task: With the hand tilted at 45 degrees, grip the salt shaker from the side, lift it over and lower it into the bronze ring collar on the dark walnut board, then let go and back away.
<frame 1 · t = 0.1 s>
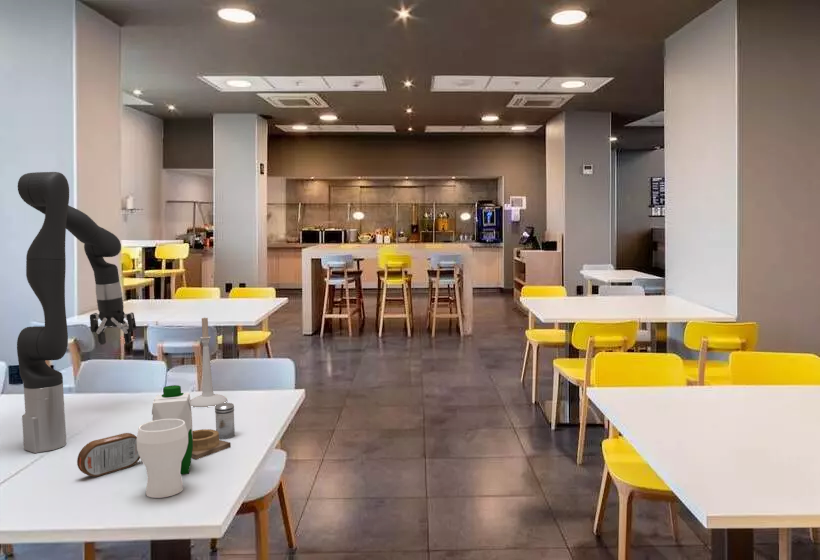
hand: (115, 343, 202), 22 cm above the table, tool pointing down, fingers open, 8 cm apart
candlestick: (208, 403, 211), on the table
cup: (165, 491, 136), on the table
milk carton: (174, 471, 148), on the table
salt shaker: (225, 436, 174), on the table
tin: (112, 472, 149), on the table
ring board: (200, 449, 163), on the table
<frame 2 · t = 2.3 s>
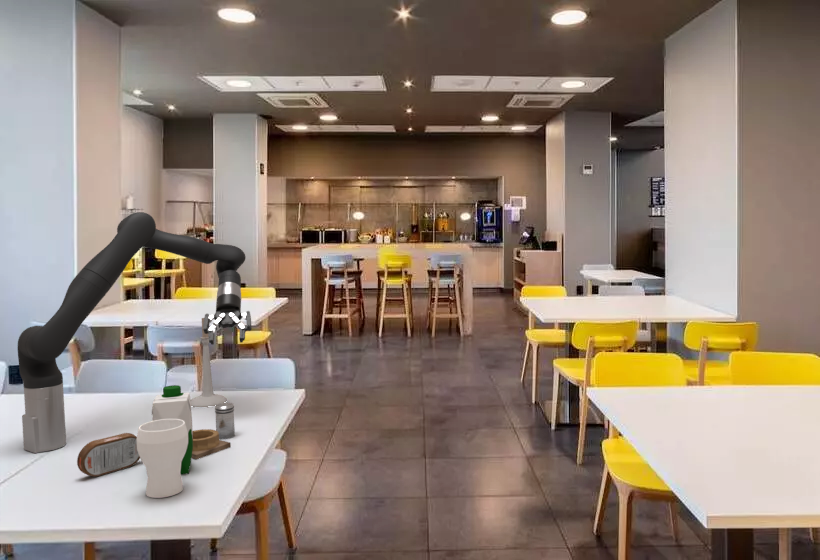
hand: (226, 342, 186), 25 cm above the table, tool tilted 40°, fingers open, 8 cm apart
nothing on the table moved.
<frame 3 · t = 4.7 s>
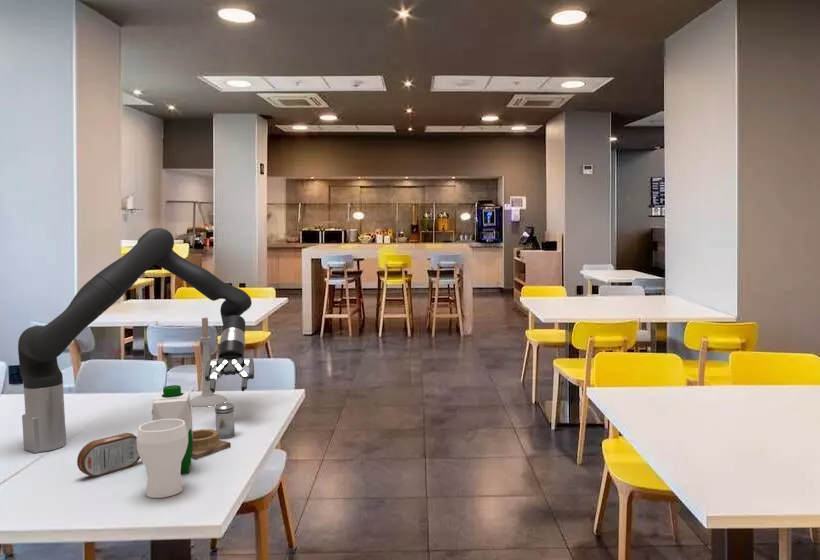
hand: (228, 390, 180), 11 cm above the table, tool tilted 45°, fingers open, 8 cm apart
nothing on the table moved.
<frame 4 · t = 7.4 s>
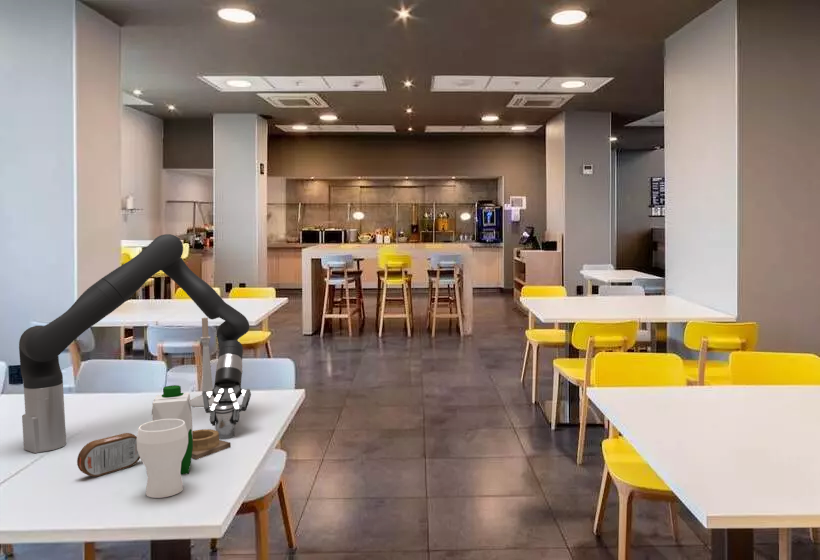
hand: (224, 423, 172), 4 cm above the table, tool tilted 45°, fingers closed on salt shaker, 5 cm apart
salt shaker: (225, 436, 174), on the table, touching gripper
everything else where it was.
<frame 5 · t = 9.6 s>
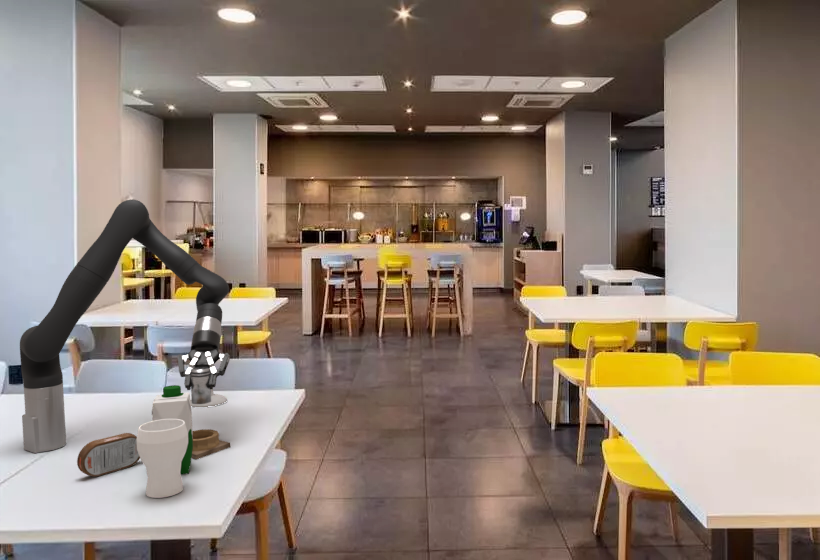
hand: (199, 387, 162), 17 cm above the table, tool tilted 45°, fingers closed on salt shaker, 5 cm apart
salt shaker: (201, 401, 164), point 12 cm above the table, touching gripper
everything else where it was.
when the fingers open (7 cm above the table, at t = 12.2 s): salt shaker drops 1 cm, resting on ring board.
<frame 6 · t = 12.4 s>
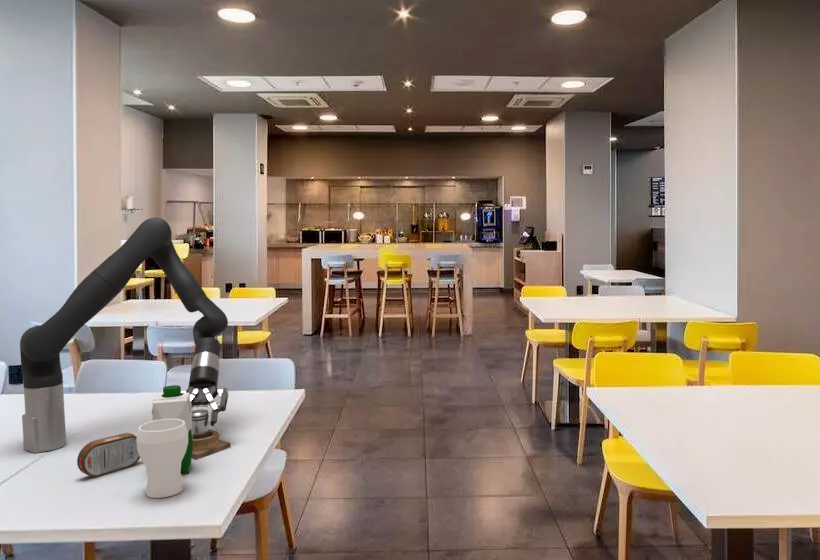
hand: (198, 425, 161), 7 cm above the table, tool tilted 45°, fingers open, 6 cm apart
salt shaker: (199, 445, 163), point 1 cm above the table, touching ring board
everything else where it was.
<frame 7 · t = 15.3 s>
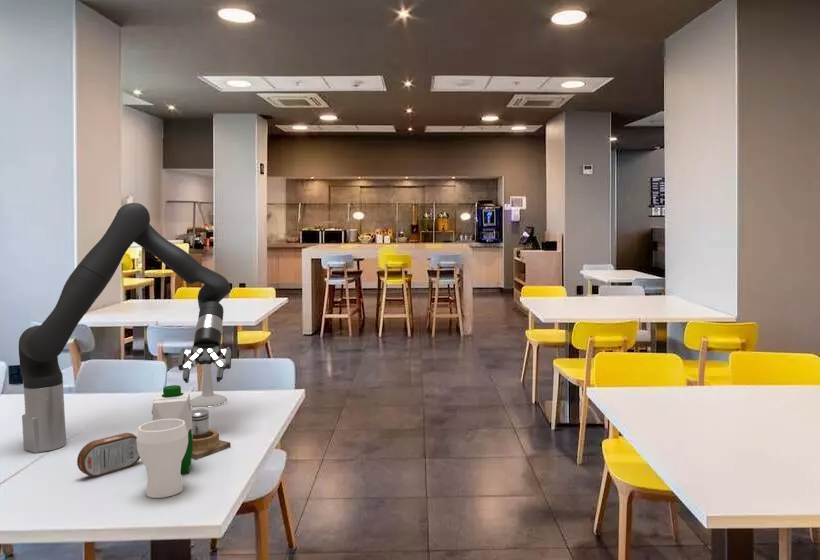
hand: (202, 380, 170), 17 cm above the table, tool tilted 45°, fingers open, 8 cm apart
nothing on the table moved.
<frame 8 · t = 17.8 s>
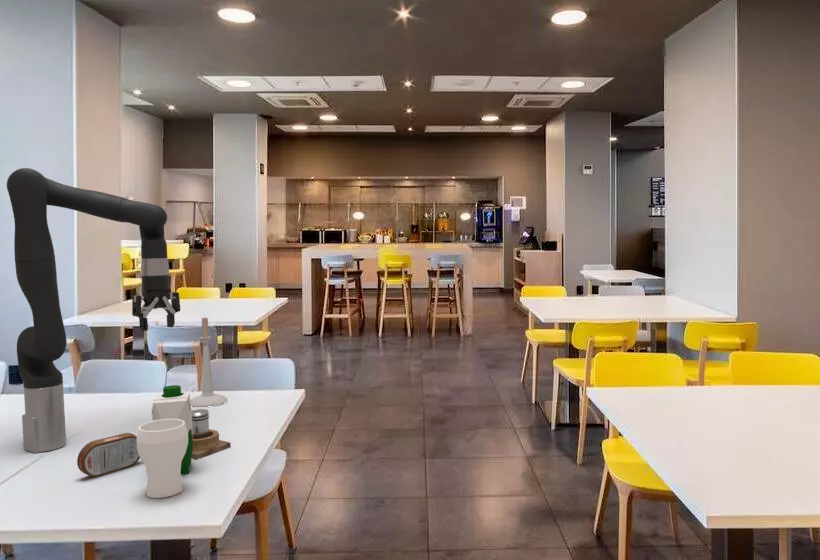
hand: (157, 328, 180), 30 cm above the table, tool pointing down, fingers open, 8 cm apart
nothing on the table moved.
at the end: salt shaker 0.2 cm off-centre on the ring board, point 1.2 cm above the ring board's base; salt shaker tilted 0°; the gripper is holding nothing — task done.
